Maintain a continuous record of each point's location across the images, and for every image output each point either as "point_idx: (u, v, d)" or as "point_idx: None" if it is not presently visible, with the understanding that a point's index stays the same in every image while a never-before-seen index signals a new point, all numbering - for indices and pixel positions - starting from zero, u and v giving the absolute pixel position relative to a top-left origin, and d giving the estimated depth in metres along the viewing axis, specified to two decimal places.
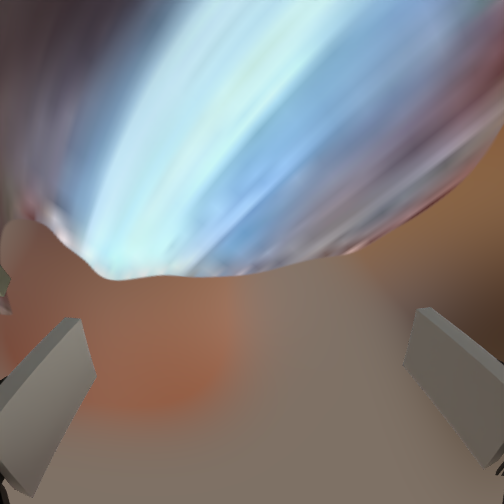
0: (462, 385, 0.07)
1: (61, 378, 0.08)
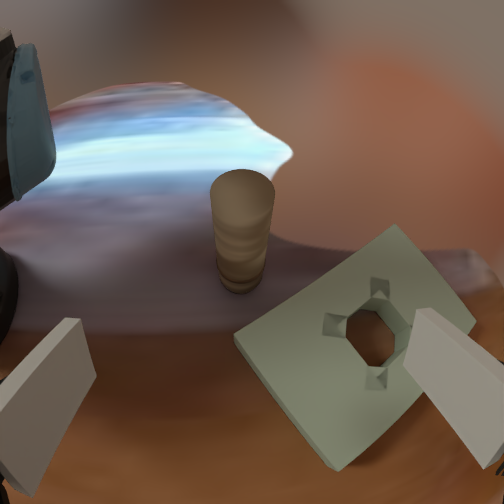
0: (462, 385, 0.07)
1: (61, 378, 0.08)
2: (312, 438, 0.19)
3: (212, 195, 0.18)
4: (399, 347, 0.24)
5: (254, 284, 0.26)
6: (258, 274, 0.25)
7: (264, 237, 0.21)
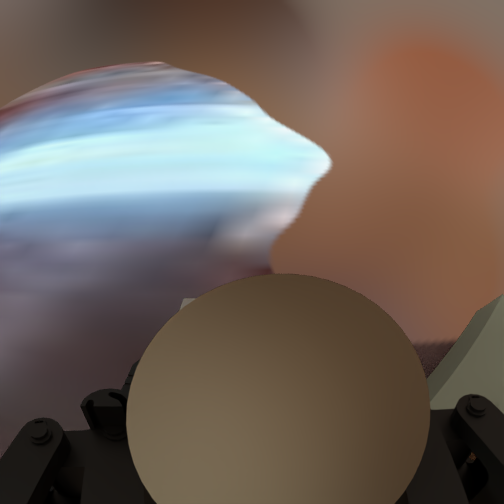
0: None
1: None
2: None
3: (138, 443, 0.03)
4: None
5: None
6: None
7: None
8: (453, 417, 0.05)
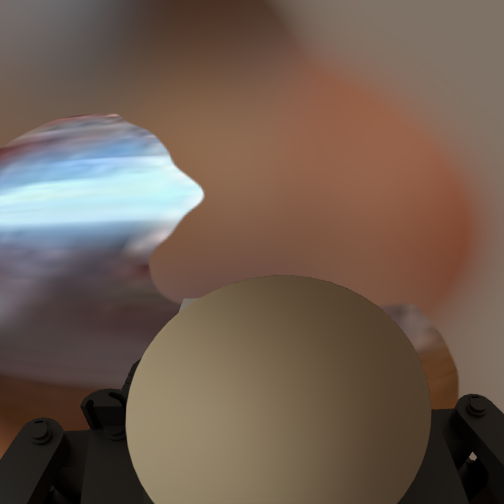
0: None
1: None
2: None
3: (138, 445, 0.03)
4: None
5: None
6: None
7: None
8: (453, 417, 0.05)
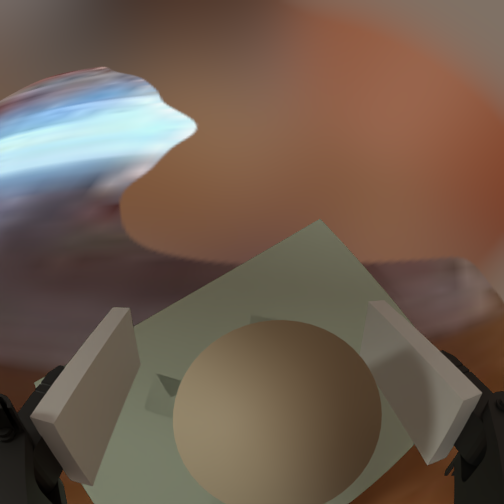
0: (406, 377, 0.08)
1: (116, 364, 0.09)
2: None
3: (181, 436, 0.05)
4: None
5: None
6: None
7: None
8: None
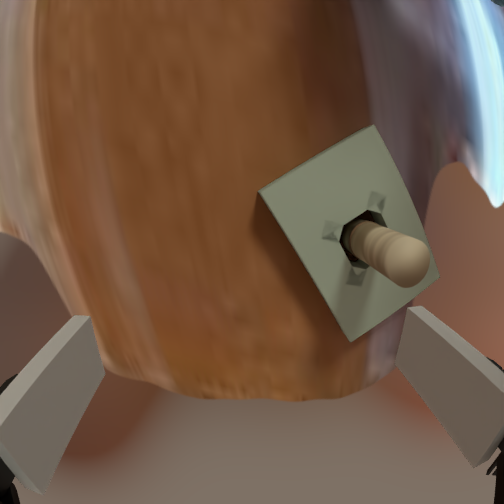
0: (451, 383, 0.07)
1: (71, 375, 0.08)
2: (293, 173, 0.28)
3: (410, 240, 0.21)
4: None
5: (347, 249, 0.31)
6: (354, 255, 0.30)
7: (378, 271, 0.25)
8: None
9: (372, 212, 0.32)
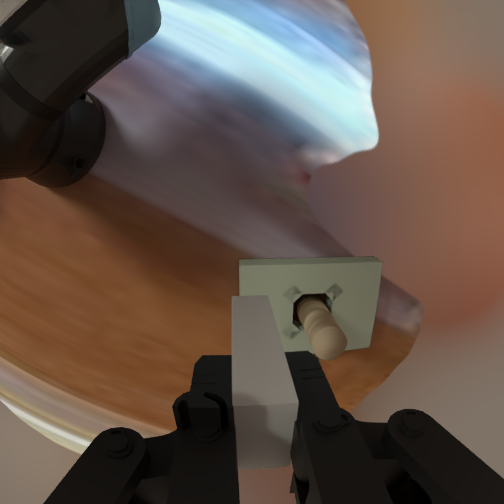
0: None
1: None
2: None
3: (316, 341, 0.32)
4: None
5: None
6: None
7: None
8: (384, 437, 0.05)
9: None
